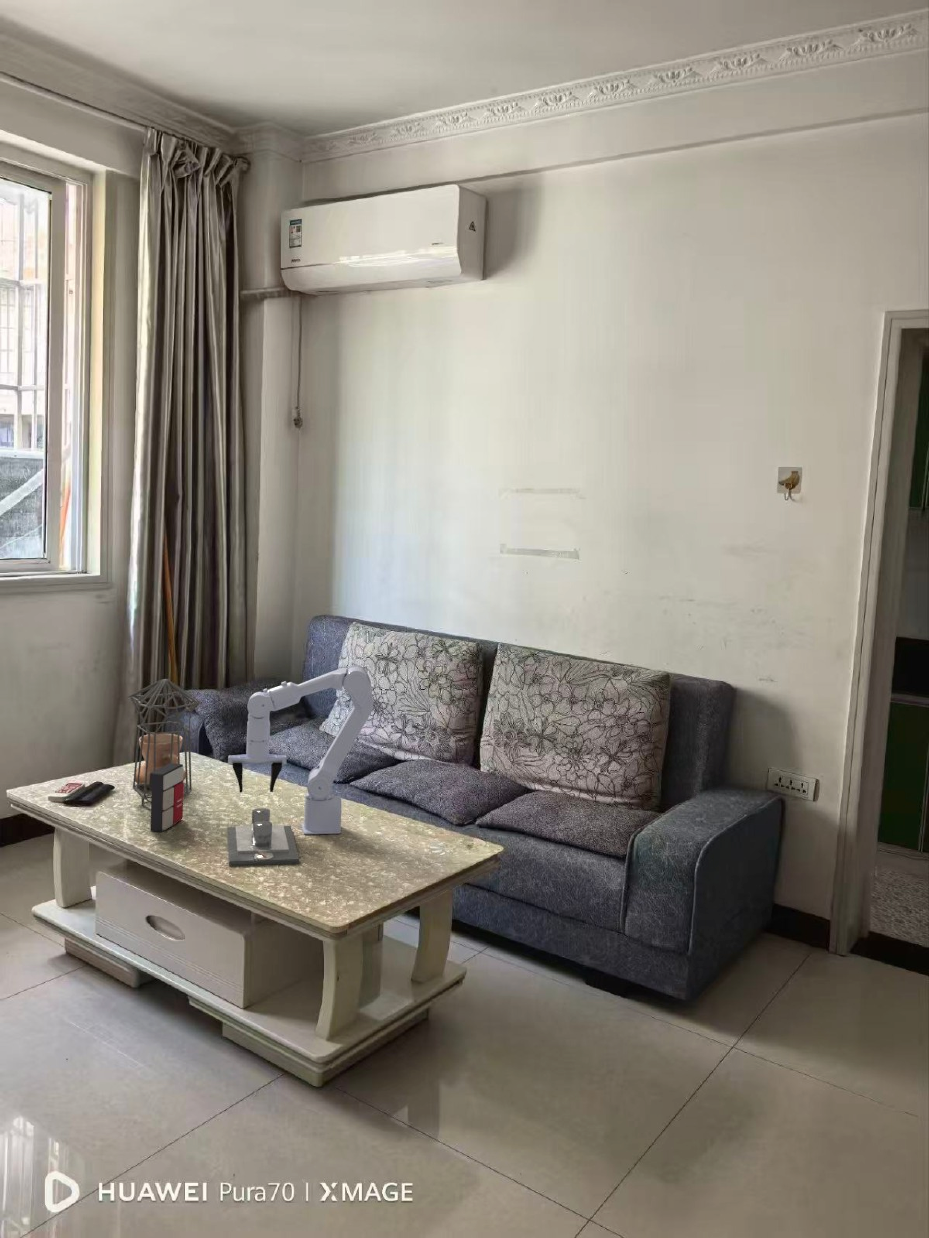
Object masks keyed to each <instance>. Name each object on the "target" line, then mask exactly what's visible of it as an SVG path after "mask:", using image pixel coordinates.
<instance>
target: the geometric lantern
mask: <svg viewBox="0 0 929 1238" xmlns="http://www.w3.org/2000/svg"><path fill="white" fill-rule="evenodd" d="M161 691H162V693H161ZM168 691H169V693H168ZM144 692H146V693H144ZM142 693H144V695H143V694H142ZM160 693H161V694H160ZM140 694H142V695H140ZM177 694H179V695H181V697H182V700H183V703H184V704H183V705H179V704H178V702H177V700H176V697H175V696H177ZM168 696H170V697H169V698H168ZM158 697H160V698H161V699H160V704H158V705H156V704H155V703H156V702H157V700H158ZM129 698H130V701H131V702H132V704H133V706H134V713H135V714H136V713H137V715H139V721H140V724H138V725H136V727H137V738H136V746H135V747H136V748H135V761H134V772H133V781H132V782H133V784H132V789H133V791H135V792H136V793H137V794H138V795H139V796H140V798H141V805H140V806H142V807H144V808H145V809H147V810H149V811H151V807H149V806H147V805H145V804H151V800H150V799H151V793H150V794H147V788H146V785H149V783H147V772H148V759H149V746H150V734H152V735H154V771H155V770H156V734H171V751H170V763H172V751H173V734H174V735H175V734H176V735H177V739H178V757H177V758H178V764H181V759H180V758H181V749H180V739H179V736H180V733H183V737H184V738H183V739H184V740H183V741H184V742H183V744H184V745H183V747H184V770H185V775H186V778H185V784H184V788H185V792H183V799H184V798H185V797H186V796H188V795H190V793H192V789H193V787H192V785H193V784H192V761H191V760H192V758H191V757H192V756H191V755H192V754H191V750H192V749H191V715H192V712H193V711H194V710H196V708H197V707H199V705H201V704H202V701H200V700H199V699H198V698H196V697H194V696H193V694H190V693H189V692H187V691H186V690H184V689H183V688H182V687H180V686H179V685H177V684H176V683H174V682H173V681H171V680H170V679H168V678H164V679H160V680H158V681H155V682H154V683H152V684H150V685H148V686H146V687H144V688H142V689H140V690H138V691H136V692H134V693H131V695H128V696H127V697H126V699H129ZM154 698H155V699H154ZM147 699H149V700H148V701H146V700H147ZM153 700H154V701H153ZM163 700H164V703H163ZM171 700H173V703H174V705H175V706H168V703H169V702H170V701H171ZM143 703H144V704H143ZM140 706H141V707H143V709H142V711H140ZM161 708H162V709H164V711H165V713H164V712H163V711H162V710H160V709H161ZM181 708H183V710H182V711H181V712H179V713H178V709H181ZM151 709H153V710H155V711H157V712H158V713H159V714H160V715H162V716H164V717H165V719H164V720H163V721H162V722H161V721H160V722H150V723H146V720H147V717H148V715H149V713H150V710H151ZM146 710H147V711H146ZM168 710H175V715H174V714H173V715H171V714H170V712H169V711H168ZM145 711H146V713H145V715H144V717H143V714H144V712H145ZM186 712H189V716H188V717H189V718H188V719H189V721H188V727H186V726H185V725H183V723H182V722H183V721H182V718H183V716H184V714H185V713H186ZM174 718H177V719H178V720H177V721H176V720H175V719H174ZM167 719H171V720H172V721H167ZM169 723H170V724H171V731H167V732H166V731H164V732H158V731H159V730H160V728H161V727H162V726H163V725H164V724H169ZM159 724H160V725H159ZM149 725H159V726H158V728H157V729H156V730H155V731H154V732H151V731H149V729H148V726H149ZM175 725H176V726H177V729H176V731H174V730H175ZM180 726H181V728H182V730H180ZM145 734H146V735H148V745H147V758H146V762H145V763H146V771H145V783H142V784H139V778H140V768H141V766H142V759H143V755H142V748H143V738H144V735H145ZM140 737H142V738H141V748H140V745H139V738H140ZM187 739H188V741H187ZM187 743H188V745H187ZM187 746H188V751H187ZM139 749H140V750H139ZM138 757H139V758H138ZM137 766H138V768H137ZM137 769H138V778H137V783H136V782H135V781H136V770H137ZM188 778H189V779H188ZM142 785H144V787H143V786H142ZM140 787H143V792H142V790H141V789H140ZM145 800H146V801H145Z"/></svg>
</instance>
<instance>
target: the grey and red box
mask: <svg viewBox="0 0 929 1238" xmlns="http://www.w3.org/2000/svg"><path fill="white" fill-rule="evenodd" d="M183 769H184V770H185V766H184V764H182V763H180V764H176V763H169V764H167V765H165V766H163V767H161V768H159V769H157V770H155V771H153V772H151V773H150V782H149V788H148V789H149V790H150V792H151V793H150V794H151V798H150V801H151V803H150V809H151V810H150V831H151V832H158V833H162V832H164V831H165V830H167V829H169V828H170V827H172V826H173V825H175V824H177V823H179V822H180V821H181V820H183V816H184V815H183V814H184V798H183V793H185V791H184V788H185V787H184V785H185V783H184V781H183Z"/></svg>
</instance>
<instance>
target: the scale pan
mask: <svg viewBox="0 0 929 1238" xmlns="http://www.w3.org/2000/svg"><path fill="white" fill-rule="evenodd" d="M284 826H285V825H284V824H272V840H271V845H270V846H266V847H257V846H254V845H253V832H252V825H235V826H234V827H235V829H236V841H237V853H260V852H289V847H288V843H287V839H286V834H285V830H284Z"/></svg>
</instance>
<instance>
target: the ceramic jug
mask: <svg viewBox="0 0 929 1238" xmlns="http://www.w3.org/2000/svg"><path fill="white" fill-rule="evenodd" d="M171 734H172V733H168V734H156V770H157V769H159V768H161V767H163V766H165V765H167V764H169V763H170V751H171ZM141 738H142V736H140V737H139V749H140V748H141ZM179 739H180V750H181V748H182V746H183V741H184V740H183V739H184V738H183V736H181V735H179ZM147 745H148V734H146V735H145V734H144V738H143V748H142V759H144V762H145V763H144V764H141V768H140V778H139V784H142V783H145V771H146V758H147ZM172 763H176V764H178V739H177V734H175V733H174V734H173V751H172ZM153 771H154V735H152V734H150V746H149V759H148V772H147V783H149V782H150V773H151V772H153ZM137 778H138V768H137V770H136V781H135V784H137ZM184 781H186V775H185V768H184V769H183V782H184ZM141 787H143V788H144V785H142V786H141ZM146 789H150V788H149V785H146Z"/></svg>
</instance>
